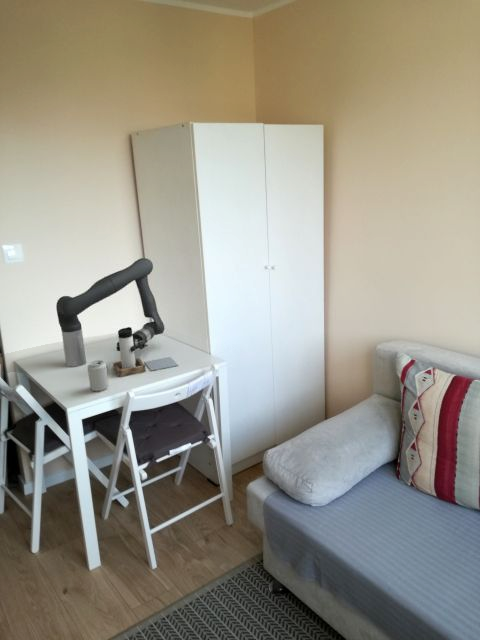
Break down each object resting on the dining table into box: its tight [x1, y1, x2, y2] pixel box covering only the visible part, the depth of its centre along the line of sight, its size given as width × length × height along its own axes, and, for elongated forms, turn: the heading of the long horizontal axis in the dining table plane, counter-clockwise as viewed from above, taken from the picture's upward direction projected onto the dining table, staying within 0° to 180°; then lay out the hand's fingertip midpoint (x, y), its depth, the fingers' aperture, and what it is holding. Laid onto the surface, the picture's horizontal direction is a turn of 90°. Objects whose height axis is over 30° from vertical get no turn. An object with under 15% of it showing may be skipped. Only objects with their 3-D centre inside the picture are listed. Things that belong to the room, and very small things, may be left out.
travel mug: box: [117, 326, 137, 370], centre depth 233 cm, size 6×7×20 cm
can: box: [87, 359, 109, 392], centre depth 215 cm, size 8×8×12 cm
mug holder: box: [112, 357, 147, 378], centre depth 235 cm, size 12×12×3 cm
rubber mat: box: [143, 356, 179, 372], centre depth 242 cm, size 13×13×1 cm
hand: (124, 349), depth 231 cm, fingers closed on travel mug, 6 cm apart
